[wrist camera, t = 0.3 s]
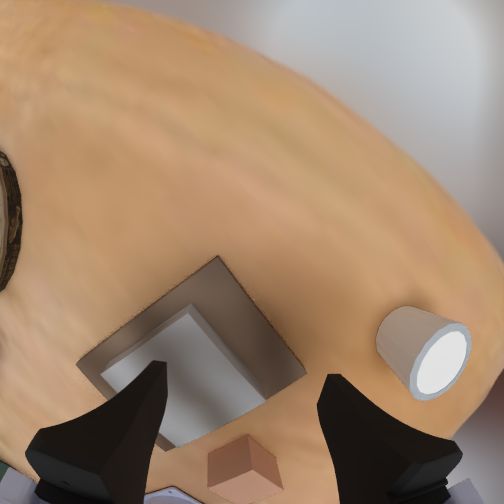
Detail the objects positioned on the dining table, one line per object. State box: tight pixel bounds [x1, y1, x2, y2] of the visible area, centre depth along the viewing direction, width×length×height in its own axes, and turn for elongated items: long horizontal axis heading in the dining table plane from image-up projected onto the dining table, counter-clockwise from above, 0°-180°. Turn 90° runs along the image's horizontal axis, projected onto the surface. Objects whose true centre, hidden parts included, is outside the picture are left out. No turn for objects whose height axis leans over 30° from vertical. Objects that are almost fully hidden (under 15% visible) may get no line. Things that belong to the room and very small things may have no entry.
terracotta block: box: [208, 435, 284, 504], centre depth 22 cm, size 5×5×5 cm
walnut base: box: [76, 256, 307, 452], centre depth 21 cm, size 16×12×4 cm
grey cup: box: [376, 306, 472, 401], centre depth 21 cm, size 7×7×7 cm
